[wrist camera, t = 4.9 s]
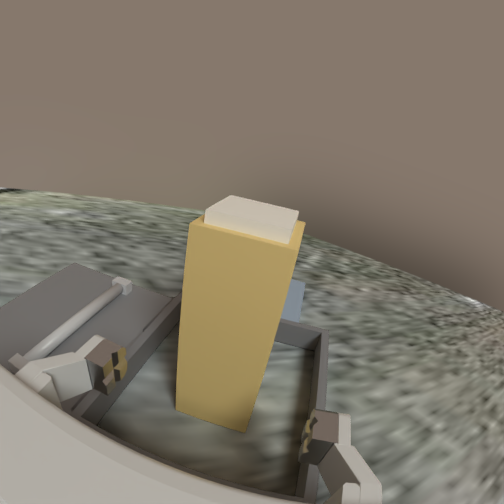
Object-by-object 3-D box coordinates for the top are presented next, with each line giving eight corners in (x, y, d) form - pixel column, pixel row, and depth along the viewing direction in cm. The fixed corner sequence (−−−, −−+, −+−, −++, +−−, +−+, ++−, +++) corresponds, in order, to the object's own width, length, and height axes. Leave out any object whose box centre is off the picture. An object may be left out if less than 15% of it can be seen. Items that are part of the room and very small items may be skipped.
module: (175, 409, 17) (191, 209, 12) (200, 366, 21) (225, 191, 16) (245, 433, 16) (302, 236, 12) (260, 385, 20) (308, 211, 16)
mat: (188, 307, 28) (189, 300, 27) (221, 266, 37) (222, 260, 37) (294, 338, 26) (297, 331, 26) (303, 288, 36) (305, 282, 35)
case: (-39, 343, 15) (-46, 323, 14) (75, 269, 29) (73, 252, 28) (301, 520, 11) (314, 509, 10) (321, 348, 26) (328, 330, 25)
